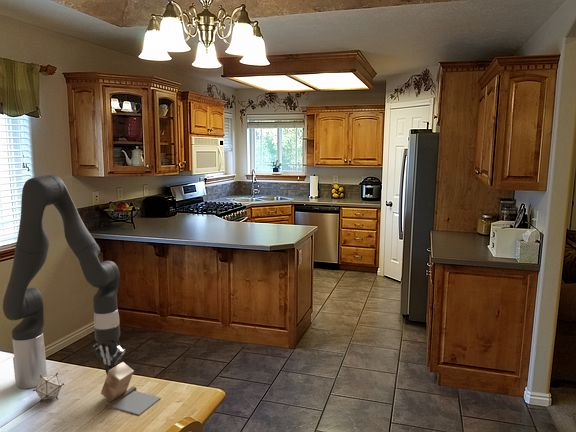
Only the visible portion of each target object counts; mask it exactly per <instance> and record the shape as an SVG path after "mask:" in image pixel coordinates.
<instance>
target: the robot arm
mask: <svg viewBox="0 0 576 432" xmlns="http://www.w3.org/2000/svg"><path fill="white" fill-rule="evenodd" d="M20 201H21V202H20V220H19V227H18V234H17V239H16V243H15V249H14V253H13V254H14V255H13V261H12V267H11V271H10V276H9V280H8V283H7V286H6V289H5V293H4V297H3V301H2V311H3V314H4V316H5V317H6V319H7V320H10V321H17V320H18V321H19V320H21V321H20V322H19V323H18V324H17V325H15V326H14V327H13V328H12V330H11V340H12V349H13V357H12V361H13V369H14V370H13V372H14V380H15V382H14V383H15V384H16V386H17V387H18V388H20V389H32V388H36V387H37V385H38V383H39V381H40V379H41V377H40V375H41V376H42V377H44V376H48V371H47V361H46V360H47V358H46V350H45V349H46V348H45V337H44V326H45V309H44V307H45V305H44V304H45V303H44V297H43V295H42V293H41V291H40V290H39V289H38V288H36V287H29V285H30V283H31V282H32V281H33V279H34V278H35V277H36V276H37V274H38V273H39V272H40V270H41V269H42V267H43V266H44V265H45V263H46V261H47V257H48V253H49V252H48V251H49V247H50V239H49V237H48V235H47V232H46V230H45V228H44V225H43V218H44V214H45V213H44V212H45V210H46V207H47V206H51V205H53V206H54V208H56V210H57V211H58V212H59V214H60V217H61V219H62V224H63V225H62V226H63V232H64V237H65V240H66V243H67V245H68V246H69V248H70V249H71V251H72V252H73V254H74V255H75V257H76V258H77V259H78V262H79V265H80V268H81V270H82V273H83V276H84V278H85V280H86V282H87V283H88V284H89V285H90V286H92V287H94V288H96V289H98V290H97V291H96V293H95V294H94V296H93V299H92V302H93V326H94V327H93V329H94V338H95V340H96V343H95V344H93V345H92V346H91V350H92V351H93V353H94V354H95V355H96V357H97V359H98V361H99V362H101V363H103V364H104V367H105V373H106V376H107V374H108V371H109V370H110V369H112V368H113V367H115V366H116V364H117V363H119V362H120V361H121V360H122V358H123V357H124V355H125V354H126V353H127V349H126V348H123V347H121V342H120V340H119V339H120V336H121V325H120V314H119V309H118V307H119V306H118V292H119V285H120V275H121V273H120V269H119V267H118V265H117V264H116V263H115V262H114V261H112V260H104V261H102V262H100V259H99V257H98V256H99V254H101V248H100V246H99V244H98V243H97V242H96V240H95V238H94V237H93V236H92V234H91V233H90V231H89V230H88V228H87V227H86V225H85V223H84V222H83V219H82V218H81V216H80V214H79V213H80V212H79V211H78V209H77V207H76V204H75V203H74V200H73V198H72V196H71V193H70V192H69V190H68V188H67V185H66V184H65V182H64V181H63V179H62V178H61V177H59V176H58V175H55V174H47V175H39V176H35V177H31V178H29V179H27V180H25V182H24V184H23V186H22V191H21V200H20Z"/></svg>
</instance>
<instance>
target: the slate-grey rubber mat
mask: <svg viewBox="0 0 576 432" xmlns="http://www.w3.org/2000/svg"><path fill="white" fill-rule="evenodd" d="M161 399H162V398H161V397H160V396H159V397H158V396H156V395H152V394H148V393H145V392H140V391H137V390H136V391H133V392H132V393H130V394H129V395H127V396H126V397H124V398H123V399H121V400H120V401H119V402H117V403H116V404H114V405H113V406H112V408H113V409H114V410H115V409H116V410H120V411H123V412H126V413H129V414H131V415H132V414H133V415H135V416H141V415H142V414H143V413H145V412H146V411H147V410H148V409H150V408H151V407H152V406H154V404H156V403H157V402H159V401H160V400H161ZM112 408H111V409H112Z"/></svg>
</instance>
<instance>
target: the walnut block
mask: <svg viewBox="0 0 576 432" xmlns="http://www.w3.org/2000/svg"><path fill="white" fill-rule="evenodd" d="M134 372H135V370H134V369H133V368H131V367H130V366H129V365H128V364H126V363H125V362H124V361H122V362H120V363H119V364H117V365H115V367H113V368H112V369H110V370H109V371H108V374H107V375H106V378H105V380H104V383H103V386H102V388H101V391H100V394H101V395H102V396H103V397H104V398H105V399H106V400H108V401H109V402H111V401H112V400H114V399H115V398H117V397H118V396H120V395H121V394H123V393H124V392H126V391H127V390H128V387H129V385H130V382H131V380H132V377H133V374H134Z"/></svg>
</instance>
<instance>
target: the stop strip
mask: <svg viewBox="0 0 576 432" xmlns="http://www.w3.org/2000/svg"><path fill="white" fill-rule="evenodd" d="M133 391H137V387H135V386H131V387H130V388H129V389H128V388H127V391H126V392H124V393H123V394H121V395H120V396H118V397H117V398H115V399H114V400H112V401H111V402H110V401H109V402H108V403H106V404H105V409H108V410H111V409H112V406H113V405H114V404H116V403H117V402H119V401H120V400H121V399H123V398H124V397H126V396H127V395H129V394H130V393H132V392H133Z"/></svg>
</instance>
